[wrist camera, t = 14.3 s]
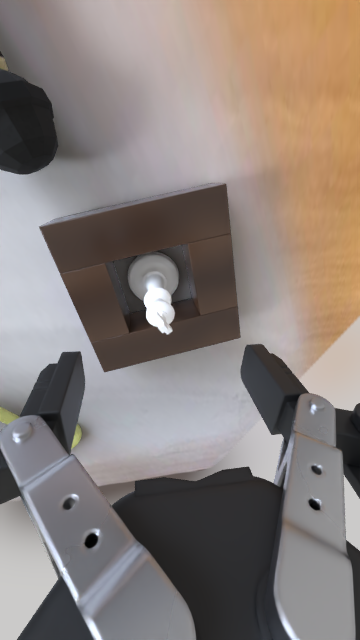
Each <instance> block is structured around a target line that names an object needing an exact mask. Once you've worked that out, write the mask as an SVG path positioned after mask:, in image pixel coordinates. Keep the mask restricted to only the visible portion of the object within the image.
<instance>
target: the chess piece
mask: <svg viewBox="0 0 360 640" xmlns="http://www.w3.org/2000/svg"><path fill="white" fill-rule="evenodd" d="M128 283H129V286H130V288H131V290H132V292H133V293H134V294H135V295H136V296H137V297H138V298H139V299H141V300H143V301H144V304H145V306H146V308H147V311H146V318H147V320H148V322H149V323H150V324H151V325H153V326H155V327H158V329H159V330H160V331H161V332H162V333H164V332H165V333H166V334H167V335H168V334H169V333H171V332H172V331H173V330H172V327H171V326H170V325H169V324H170V323H171V322H172V321H173V319H174V316H175V312H174V309H173V307H172V306H171V295H172V294H173V293H174V292H175V291H176V289H177V286H178V283H179V272H178V268H177V266H176V264H175V263H174V261H173V260H172V259H171V258H170V257H168V256H167V255H165V254H163V253H159V252H149V253H145V254H142V255H140V256H138V257H137V258H136V259H135V260H134V261H133V262H132V263H131V265H130V267H129V270H128Z"/></svg>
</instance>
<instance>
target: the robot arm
mask: <svg viewBox="0 0 360 640" xmlns="http://www.w3.org/2000/svg"><path fill="white" fill-rule="evenodd" d="M241 379H242V381H243V383H244V385H245V387H246V389H247V390H248V392H249V394H250V396H251V398H252V400H253V402H254V403H255V405H256V407H257V409H258V411H259V413H260V414H261V416H262V418H263V420H264V422H265V423H266V425H267V427H268V429H269V431H270V433H271V434H272V435H275V434H282V435H283V437H284V439H283V442H282V446H281V450H280V456H279V461H278V465H277V470H276V475H275V479H274V483H272V482H270V481H267V480H265V479H262V478H259V477H254V476H253V475H252V473H251V470H250V468H249V467H242V468H234V469H226V470H222V471H219V472H217V473H214V474H212V475H210V476H208V477H205V478H203V479H201V480H198V481H188V480H181V479H173V478H166V477H163V478H156V479H147V480H140V481H135V491H134V492H132V493H129V494H128V495H126V496H124V497H122V498H121V499H119V500H118V501H117V502H116V503H114V504H113V505H112V506H111V505H110V503H109V502H108V500H107V499H106V498H105V496H104V495H103V493H102V492H101V491H100V490H99V488H98V487H97V485H96V484H95V482H94V481H93V480H92V478H91V477H90V475H89V474H88V473H87V471H86V470H85V469H84V467H83V466H82V464H81V463H80V462H79V460H78V459H77V458H76V457H75V456H74V455H73V454H71V455H70V452H71V447H72V443H73V439H74V434H75V430H76V425H77V421H78V417H79V412H80V408H81V404H82V399H83V395H84V390H85V376H84V369H83V363H82V356H81V352H80V351H79V352H62V354H61V356H60V359H59V361H58V364H49V365H48V366H47V367H46V368H45V369H44V370H42V371H41V373H40V375H39V377H38V379H37V382H36V383H35V385H34V388H33V390H32V392H31V394H30V396H29V398H28V400H27V402H26V404H25V406H24V409H23V411H22V413H21V415H20V417H19V418H18V419H16V420H14V421H12V422H10V423H9V424H8V425H7V426H5V427H4V429H3V430H2V431H1V432H0V504H2V503H4V502H7V501H9V500H11V499H14V498H16V497H18V496H20V497H21V499H22V501H23V504H24V506H25V508H26V510H27V512H28V514H29V516H30V518H31V521H32V522H33V525H34V527H35V529H36V531H37V533H38V535H39V538H40V540H41V542H42V544H43V547H44V549H45V551H46V553H47V556H48V558H49V560H50V562H51V564H52V566H53V569H54V570H55V573H56V575H57V577H58V581H57V582H56V584H55V585H54V586H53V588H52V589H51V591H50V592H49V594H48V595H47V597H46V598H45V599H44V601H43V602H42V604H41V605H40V607H39V608H38V610H37V611H36V613H35V614H34V615H33V617H32V619H31V620H30V621H29V623H28V624H27V626H26V627H25V628H24V630H23V631H22V633H21V634H20V636H19V637H18V639H17V640H360V551H359V550H358V549H356V548H355V547H354V546H353V545H352V544H350V543H349V542H348V541H347V540H346V531H345V530H346V529H345V503H344V476H343V474H344V475H345V477H346V478H347V480H348V481H349V483H350V484H351V486H352V487H353V489H354V491H355V492H356V494H357V495H358V497H359V498H360V403H359V404H357V405H356V407H355V408H354V411H348V410H342V409H337V408H334V407H333V405H332V404H331V403H330V402H329V401H327V400H326V399H324V398H323V397H321V396H318V395H316V394H311V393H309V392H308V391H307V390H306V388H305V387H304V386H303V385H302V383H301V382H300V381H299V380H298V379H297V377H296V376H295V375H294V374H292V371H291V370H290V369H289V368H287V365H286V364H285V363H284V362H283V361H282V359H280V358H279V357H277V356H276V355H274V354H273V353H272V354H270V353H269V352H268V350H267V349H266V348H265V347H264V345H262V344H255V345H247V346H246V347H245V351H244V356H243V361H242V365H241Z"/></svg>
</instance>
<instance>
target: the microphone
mask: <svg viewBox="0 0 360 640" xmlns="http://www.w3.org/2000/svg"><path fill="white" fill-rule="evenodd" d="M8 71H9V70H8V67H7V64H6V62H5V59H4V57H3V55H2V54H1V52H0V169H1V170H4V171H8V172H12V173H16V174H30V173H33V172H36V171H39V170H41V169H42V168H44V167H46V166H48V165H49V163H50V162H51V161H52V160H53V158H54V155H55V153H56V150H57V147H58V142H57V136H56V131H55V127H54V122H53V120H52V119H53V118H54V117H53V110H52V104H51V102H50V100H49V99H48V97H47V95H46V94H45V92H44V90H43V89H42V88H39V87H37V86H35V85H32V84H30V83H28V82H27V81H26V80H25V79H24V78H22V77H20V76H17V75H15V74H13V73H11V72H8Z"/></svg>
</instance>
